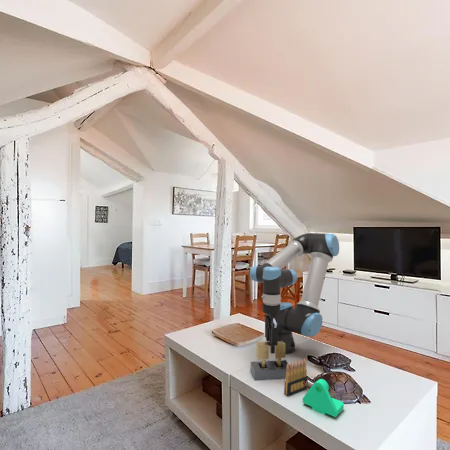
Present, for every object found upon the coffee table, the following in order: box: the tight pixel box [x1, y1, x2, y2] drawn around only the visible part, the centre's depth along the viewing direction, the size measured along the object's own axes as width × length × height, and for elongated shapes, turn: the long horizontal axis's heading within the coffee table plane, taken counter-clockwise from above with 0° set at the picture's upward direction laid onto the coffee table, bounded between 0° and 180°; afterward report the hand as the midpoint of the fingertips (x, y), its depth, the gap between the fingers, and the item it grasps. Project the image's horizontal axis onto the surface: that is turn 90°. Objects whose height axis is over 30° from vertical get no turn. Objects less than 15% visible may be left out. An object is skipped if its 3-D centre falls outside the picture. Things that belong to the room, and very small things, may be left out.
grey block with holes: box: [250, 359, 290, 381], centre depth 130 cm, size 16×8×4 cm, turn 98°
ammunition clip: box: [283, 357, 309, 398], centre depth 117 cm, size 11×2×12 cm, turn 122°
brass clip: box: [255, 341, 286, 368], centre depth 130 cm, size 12×3×11 cm, turn 98°
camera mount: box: [302, 378, 345, 418], centre depth 107 cm, size 12×8×10 cm, turn 47°
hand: (270, 358), depth 130 cm, fingers closed on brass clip, 3 cm apart
